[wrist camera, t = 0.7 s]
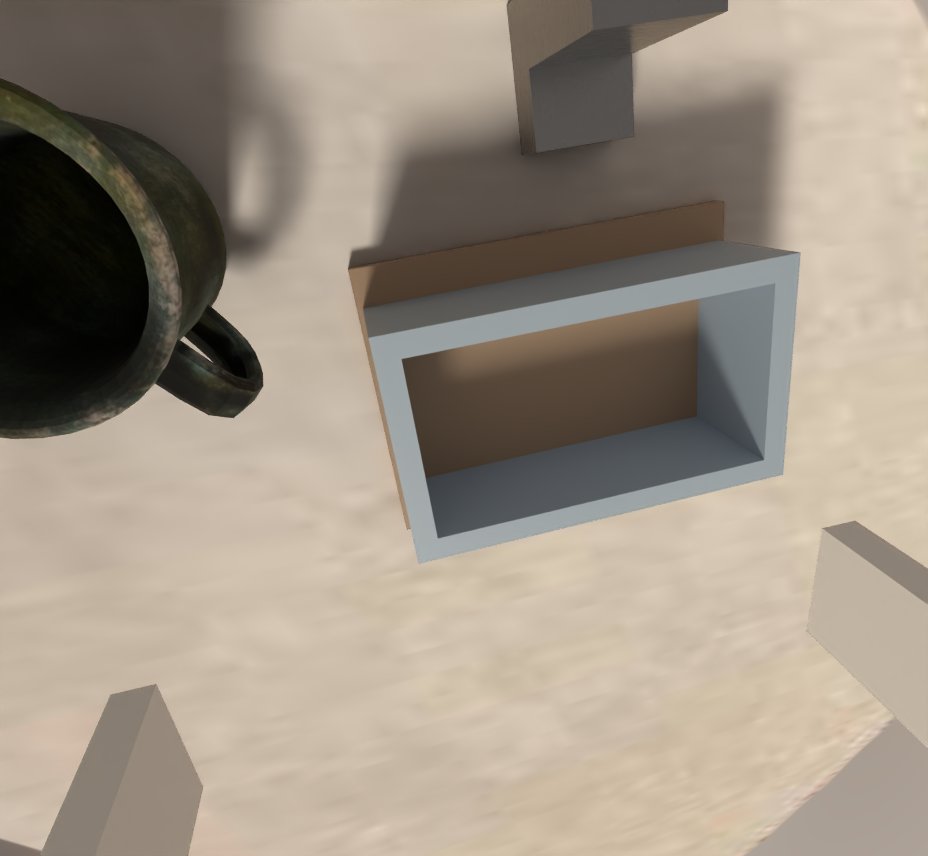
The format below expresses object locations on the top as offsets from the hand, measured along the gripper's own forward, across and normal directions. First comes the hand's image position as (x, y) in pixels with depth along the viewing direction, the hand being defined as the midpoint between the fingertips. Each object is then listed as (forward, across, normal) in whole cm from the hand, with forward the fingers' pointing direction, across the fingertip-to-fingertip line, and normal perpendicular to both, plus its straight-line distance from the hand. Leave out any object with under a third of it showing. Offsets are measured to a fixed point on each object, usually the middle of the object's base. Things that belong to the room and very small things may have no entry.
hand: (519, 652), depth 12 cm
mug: (+24, -12, +6) cm, 27 cm away
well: (+24, +9, -3) cm, 25 cm away
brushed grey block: (+24, +10, +12) cm, 29 cm away
